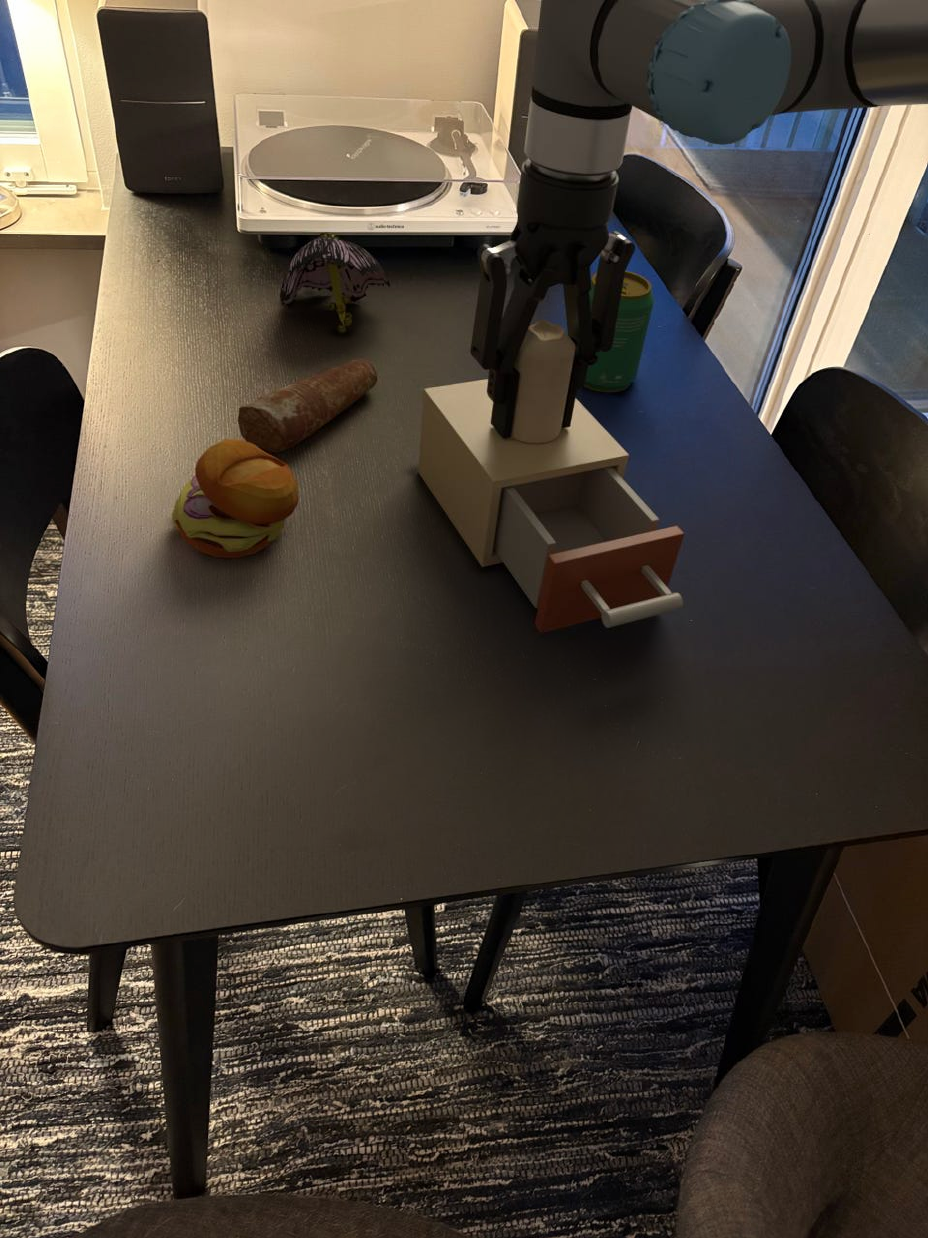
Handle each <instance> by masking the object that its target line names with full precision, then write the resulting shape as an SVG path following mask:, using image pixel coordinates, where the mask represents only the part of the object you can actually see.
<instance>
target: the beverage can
mask: <svg viewBox="0 0 928 1238" xmlns="http://www.w3.org/2000/svg"><path fill="white" fill-rule="evenodd" d="M596 275H597V272H595V273H594V274H593V275H592V276H591V287H592V288H591V291H589V297H590V309H591V308H592V302H593V295H594V288H595V282H596ZM652 288H653V287H652V283H651V282H650V280H648V279H647V278H646V277H645V276H643V275H640V274H638V273H636V272H632V271H629V270H625V275H624V281H623V287H622V293H621V299H620V304H619V310H618V316H617V322H616V327H615V333H614V339H613V345H612V348H611V349H610V350H609V351H607V352H602V351H599V352H597V353H595V354H596V355H597V356H598V360H597V362H596V363H595V364H594V365H591V366H589V365H588V370H587V374H586V380H585V385H584V387H583V388H586V389H589V390H591V391H595V392H599V393H618V392H621V391H624V390H626V389H628V388H629V387H630V386H631V384H632V383H633V382H634V381H635V380H636V377H637V375H638V371H639V366H640V363H641V358H642V353H643V349H644V344H645V341H646V338H647V337H646V336H647V332H648V327H649V324H650V319H651V316H652V311H653V307H654V302H655V297H654V293H653V291H652Z"/></svg>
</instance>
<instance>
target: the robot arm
mask: <svg viewBox="0 0 928 1238" xmlns="http://www.w3.org/2000/svg"><path fill="white" fill-rule="evenodd" d="M538 18H539V20H538V27H537V37H536V45H535V54H534V63H533V64H534V65H533V72H532V73H533V75H532V82H531V94H530V98H529V108H528V116H527V122H526V123H527V124H526V132H525V140H524V146H523V147H524V148H523V152H524V155H525V156H526V157H527V158H526V159H525V160H524V161H523V162H522V164H521V170H520V177H519V184H518V185H519V186H518V192H517V193H518V194H517V200H516V207H517V208H516V210H517V211H516V213H517V220H516V224H515V226H514V228H513V229H512V232H511V233H510V235H509V239H508V240H507V241H505V242H503V243H500V244H498V245H496V246H493V247H491V245H489V244H488V243H484V244H481V245H480V246H479V247H478V249H477V251H476V253H477V260H478V263H479V264H478V265H479V268H480V269H479V270H480V278H479V286H478V293H477V301H476V308H475V313H474V322H473V328H472V336H471V343H470V351H469V353H470V355H471V356H472V357H473V358H474V360H475V361H476V362H477V363H478V364H479V366H480V367H481V368H482V369H483V370H485V371H488V378H487V379H488V386H487V394H488V397H489V398H490V399H491V400H492V401H493V407H492V415H491V424H492V426H493V427H494V428H495V429H496V431H497V432H498V433H499V434H500V435H501V437H502V438H503V439H505V438H510V437H511V431H512V424H513V417H514V410H515V403H516V396H517V389H518V382H519V375H520V373H519V372H518V371H517V370H516V369H515V368H514V367H513V365H514V363H515V360H516V358H517V355H518V353H519V350H520V348H521V346H522V343H523V341H524V338H525V336H526V333H527V331H528V328H529V326H530V325H531V324H532V321H533V318H534V315H535V314H536V311H537V308H538V307H539V306H538V305H539V304H540V302H542V301H543V300H545V298H546V296H547V293H548V290H549V288H553V287H554V286H556V285H562V290H563V299H564V309H565V318H566V319H565V320H566V327H567V329H566V331H567V334H568V336H569V337H570V338H571V340H572V341H573V342H574V344H575V353H574V359H573V365H572V370H571V376H570V382H569V387H568V393H567V398H566V404H565V410H564V415H563V421H562V427H563V428H567V427H570V425H571V420H572V415H573V409H574V404H575V399H577V393H578V391H583V388H585V387H584V385H585V380H586V374H587V370H588V365H589V366H591V365H594V364H595V363H596V362H597V360H598V356H597V355H596V354H595V353H597V352H599V351H602V352H607V351H609V350H610V349H611V348H612V345H613V339H614V333H615V327H616V322H617V316H618V310H619V304H620V299H621V293H622V287H623V281H624V275H625V271H627V268H628V266H629V264H630V262H631V260H632V257H633V255H634V253H635V251H636V245H635V244H634V242H632V241H631V240H630V239H629V238H628V237H626V236H625V235H623V233H621V232H620V231H618V230H614V231H612V232H611V233H610V232H609V230H608V223H609V222H610V220H611V219H612V216H613V210H614V206H615V200H616V195H617V191H618V190H617V189H618V184H619V179H620V178H619V175H618V173H617V170H619V169H620V167H621V166H622V164H623V161H624V154H625V151H626V150H625V149H626V144H627V139H628V133H629V128H630V122H631V115H632V110H633V107H634V108H635V109H638V110H639V111H641V112H643V113H645V114H647V115H648V116H650V117H652V118H654V119H656V120H659V121H660V122H662V123H663V124H664V125H666V126H668V128H669V129H671V130H672V131H673V132H674V131H676V132H678V133H680V135H682V136H685V137H688V138H696V139H699V140H701V141H704V142H707V143H709V144H714V145H720V146H722V145H723V146H726V145H731V144H735V143H738V142H741V141H742V140H744V139H746V137H747V136H748V135H749V134H750V133H751V132H753V131H754V130H757V129H759V128H761V127H762V126H763V125H764V124H765V123H766V122H767V120H768V119H769V118H770V117H771V116H777V115H782V114H791V113H805V112H816V111H818V112H819V111H829V110H847V109H848V110H849V109H868V108H869V109H871V108H878V107H889V106H890V107H891V106H893V107H894V106H913V105H914V106H915V105H928V0H540V9H539V17H538ZM599 255H600V256H599ZM598 257H599V259H598V263H597V268H596V269H597V270H596V273H597V275H596V282H595V288H594V295H593V302H592V308H591V309H590V297H589V291H591V288H592V287H591V279H592V276H591V275H592V274H591V266H592V264H593V263H594V262H595V261H596V260H597V258H598ZM514 259H516V261H517V262H518V266H517V269H516V272H515V275H514V276H513V289H512V291H511V294H510V297H509V299H508V302H507V305H506V307H505V302H506V297H507V296H506V295H507V288H508V275H510V274H511V273H512V268H511V267H512V262H513V260H514ZM504 307H505V310H504Z"/></svg>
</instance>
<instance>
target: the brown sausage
mask: <svg viewBox="0 0 928 1238" xmlns="http://www.w3.org/2000/svg"><path fill="white" fill-rule="evenodd" d="M377 382H378V374H377V370H376V368H375V366H374V365H373V364H372V363H370V362H369V361H367V360H366V359H363V358H357V359H353V360H350V361H348V362H346V363H344V364H341V365H339V366H336V367H333V368H330V369H328V370H324V371H322V372H320V373H317V374H314V375H312V376H310V377H307V378H304V379H301V380H298V381H297V382H295V383H291V384H289V385H287V386H284V387H281V388H279V389H277V390H275V391H273V392H270V393H268V394H265V395H263V396H260V397H257V398H256V399H255V400H253V401H251V402H249V403H247V404H244V405H242V406H240V407H239V408H238V417H237V424H238V428H239V432H240V435H241V437H242V438H243V439H244V441H247V442H250V443H252V444H254V445H256V446H257V447H258V448H260V449H263V450H266V452H271V453H279V452H284V451H287V450H289V449H290V448H293V447H294V446H296V445H298V444H299V443H301V441H303V440H305V439H307V438H308V437H309V436H312V435H313V434H314V433H315V432H317V431H318V430H319V429H321V428H322V427H323V426H324V425H326V424H327V423H329V422H330V421H332V420H333V419H334V418H335V417H337V416H338V415H339V414H340V413H342V412H343V411H345V410H346V409H347V408H349V407H350V406H352V404H354V403H355V402H356V401H358V400H359V399H360V398H362V397H363V396H364V395H365V394H367V393H368V392H369V391H370V390H371V389H373V388H374V387H375V385H376V384H377Z"/></svg>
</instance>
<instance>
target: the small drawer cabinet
mask: <svg viewBox="0 0 928 1238" xmlns="http://www.w3.org/2000/svg"><path fill="white" fill-rule="evenodd" d="M487 386H488V378H486V379H485V378H484V379H480V380H479V379H478V380H473V381H467V382H458V383H454V384H453V383H452V384H446V385H440V386H433V387H427V388H423V398H422V412H421V428H420V441H419V455H418V470H417V472H418V474H419V476H420V477H421V478H422V480H423V482H424V483H425V484H426V486H427V488H428V489H429V490H430V492H431V493H432V495H433V496H434V498H435V500H436V501H437V502H438V504H439V505H440V507H441V508H442V510H443V511H444V512H445V514H446V516H447V518H448V519H449V520H450V522H451V523H452V525H453V526H454V527H455V529H456V531H457V532H458V534H459V535H460V537H461V538H462V540H463V541H464V542H465V544H466V546H467V547H468V548H469V550H470V552H471V553H472V555H473V556H474V558H475V559H476V560H477V562H478V563H479V565H480V566H481V567H482V568H484V567H488V566H493V565H497V564H502V563H504V562H503V561H502V560H501V558H500V557H499V555H498V554H497V552H496V551H495V550H494V548H493V544H494V537H495V530H496V523H497V516H498V509H499V502H500V495H501V488H503V487H508V486H513V485H518V484H523V483H529V482H534V481H539V480H544V479H549V478H554V477H559V476H564V475H569V474H574V473H579V472H584V471H589V470H594V469H600V468H605V467H610V466H612V468H613V469H614V470H615V471H616V472H617V473H618V474H619V475H620V476H621V478H622V479H623V480H624V477H625V473H626V471H627V466H628V462H629V458H630V453H628V452H627V450H625V449H624V448H623V446H621V444H620V443H619V442H618V441H617V440H616V439H615V438H614V437H613V436H612V435H611V433H610V432H609V431H607V430H606V429H605V427H604V426H603V425H602V424H601V423H600V422H599V421H598V420H597V419H596V417H594V416H593V415H592V413H590V412H589V410H588V409H587V408H586V407H585V406H584V405H583V404H582V403H581V402H580V401H579V400H578V399H577V398H576V399H575V404H574V409H573V415H572V420H571V425H570V427H567V428H563V427H562V426H561V430H560V433H559V435H558V437H557V438H555V439H554V440H552V441H549V442H546V443H526V442H522V441H519V440H516V439H514V438H512V437H510V438H505V439H503V438H502V437H501V435H500V434H499V433H498V432H497V431H496V429H495V428H494V427H493V426H492V424H491V415H492V407H493V401H492V400H491V399H490V398H489V397H488V394H487Z"/></svg>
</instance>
